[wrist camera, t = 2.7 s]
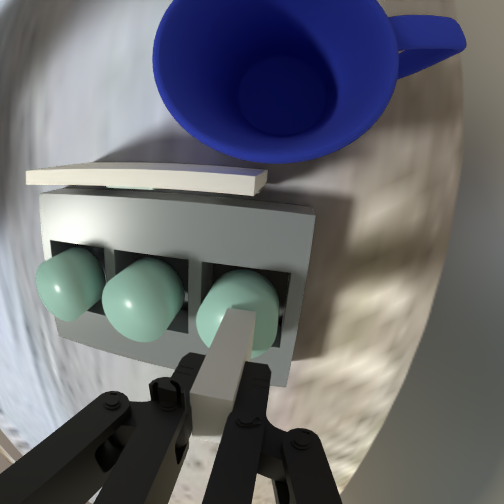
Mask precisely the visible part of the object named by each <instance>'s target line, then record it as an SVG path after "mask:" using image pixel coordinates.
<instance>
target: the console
mask: <svg viewBox="0 0 504 504" xmlns="http://www.w3.org/2000/svg"><path fill="white" fill-rule="evenodd" d="M39 201H40V219H41V232H42V242H43V251H44V259H45V261H46V260H48V259H50V258H52V257H54V256H56V255H58V254H60V253H62V252H64V251H66V250H68V249H70V248H73V247H74V244H81V245H88V246H94V247H101V248H104V257H105V270H106V281H107V282H108V281H109V280H111V279H112V278H113V277H114V276H116V275H117V274H118V273H120V272H121V271H123V270H124V269H125V268H127V267H128V266H129V265H131V264H132V263H133V262H135V252H136V253H143V254H151V255H158V256H165V257H172V258H180V259H187V260H189V270H188V311H187V310H181V309H180V311H179V312H178V313H177V315H176V316H175V318H174V319H173V321H172V322H171V323H170V325H169V326H168V328H167V329H166V331H165V332H164V333H163V335H162V336H161V337H160V338H158V339H157V340H154V341H151V342H137V341H134V340H131V339H129V338H127V337H125V336H123V335H122V334H121V333H119V332H118V331H117V330H116V329H115V328H114V327H113V326H112V324H111V323H110V322H109V320H108V318H107V317H106V314H105V312H104V309H103V304H102V298H101V299H100V300H99V301H98V302H96V303H95V304H94V305H93V306H92V307H90V308H89V309H88V310H87V311H86V312H84V313H83V314H82V315H81V316H80V317H79V318H77V319H76V320H74V321H70V322H67V321H63V320H60V319H58V318H57V317H55V316H54V317H55V321H56V325H57V330H58V334H59V336H60V337H63V338H66V339H69V340H72V341H75V342H78V343H81V344H84V345H87V346H90V347H93V348H96V349H100V350H103V351H106V352H110V353H113V354H116V355H120V356H124V357H127V358H131V359H135V360H138V361H142V362H146V363H150V364H154V365H158V366H163V367H167V368H171V369H176V367H177V366H178V364H179V362H180V360H181V358H182V357H183V356H185V355H186V354H188V353H189V352H193V353H198V354H203V355H207V352H208V350H209V348H208V347H207V346H206V344H205V343H204V342H203V341H202V339H201V337H200V336H199V333H198V331H197V326H196V316H197V312H198V310H199V308H200V306H201V304H202V303H203V301H204V299H205V298H206V296H207V294H208V293H209V291H210V289H211V288H212V275H213V263H218V264H225V265H233V266H241V267H249V268H257V269H265V270H273V271H281V272H289V278H288V285H287V292H286V299H285V306H284V312H283V319H282V324H278V326H277V334H276V338H275V341H274V343H273V344H272V346H271V347H270V348H269V349H268V350H267V351H266V352H265V353H263V354H262V355H260V356H258V357H255V358H252V359H250V362H255V363H262V364H268V366H269V368H270V370H271V372H272V373H271V380H270V386H278V387H286V385H287V380H288V375H289V371H290V366H291V361H292V356H293V351H294V346H295V340H296V335H297V330H298V324H299V319H300V313H301V308H302V302H303V296H304V290H305V284H306V278H307V272H308V266H309V259H310V253H311V246H312V239H313V232H314V225H315V217H316V215H315V213H314V210H313V208H312V207H308V206H301V205H292V204H284V203H275V202H266V201H257V200H247V199H237V198H227V197H216V196H204V195H192V194H179V193H165V192H149V191H131V190H111V189H84V188H61V189H57V190H53V191H48V192H44V193H40V194H39Z"/></svg>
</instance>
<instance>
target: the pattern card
mask: <svg viewBox="0 0 504 504" xmlns="http://www.w3.org/2000/svg"><path fill="white" fill-rule="evenodd" d="M267 173H268V170H262V169H252V168H240V167H228V166H214V165H197V164H176V163H144V162H91V163H82V164H72V165H64V166H56V167H48V168H41V169H34V170H28V171H26V185H99V186H107V188H127V189H146V190H155V189H158V188H163V189H178V190H192V191H205V192H217V193H228V194H238V195H249V196H254V195H255V194H256V193H258V194H259V193H260V192H261V191H262V189H263V188H264V185H265V184H266V183H267Z"/></svg>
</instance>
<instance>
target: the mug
mask: <svg viewBox="0 0 504 504" xmlns="http://www.w3.org/2000/svg"><path fill="white" fill-rule="evenodd" d="M465 48H466V39H465V36H464V34H463V31H462V29H461V27H460V25H459V24H458V23H457V22H456V21H455V20H454V19H452V18H448V17H441V16H433V15H402V16H393V17H387V15H386V14H385V12H384V10H383V9H382V7H381V6H380V4H379V3H378V2H377V0H173V1H172V3H171V4H170V6H169V7H168V9H167V10H166V12H165V14H164V16H163V18H162V20H161V22H160V24H159V27H158V29H157V32H156V36H155V40H154V46H153V59H152V61H153V72H154V78H155V82H156V85H157V88H158V91H159V94H160V96H161V98H162V100H163V102H164V104H165V106H166V107H167V109H168V111H169V112H170V113H171V115H172V116H173V117H174V119H175V120H176V121H177V122H178V123H179V124H180V125H181V126H182V127H183V128H184V129H185V130H186V131H187V132H188V133H189V134H190V135H192V136H193V137H195V138H196V139H197V140H199V141H200V142H202V143H203V144H205V145H207V146H209V147H210V148H212V149H214V150H216V151H219V152H221V153H224V154H226V155H229V156H232V157H235V158H238V159H242V160H246V161H252V162H259V163H270V164H284V163H296V162H302V161H307V160H312V159H315V158H319V157H322V156H325V155H328V154H330V153H333V152H335V151H337V150H340V149H341V148H343V147H345V146H347V145H349V144H350V143H352V142H353V141H355V140H356V139H358V138H359V137H360V136H361V135H363V134H364V133H365V132H366V131H367V130H368V129H370V128H371V126H372V125H373V124H374V123H375V122H376V121H377V120H378V119H379V117H380V116H381V114H382V113H383V112H384V110H385V108H386V107H387V105H388V103H389V101H390V99H391V96H392V94H393V92H394V89H395V85H396V81H397V79H400V78H403V77H406V76H409V75H411V74H414V73H416V72H418V71H421V70H423V69H425V68H427V67H430V66H432V65H434V64H436V63H438V62H440V61H442V60H445V59H447V58H449V57H451V56H453V55H455V54H457V53H460V52H462V51H463V50H464V49H465ZM402 50H405V51H403V52H401V53H399V54H398V51H402Z"/></svg>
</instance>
